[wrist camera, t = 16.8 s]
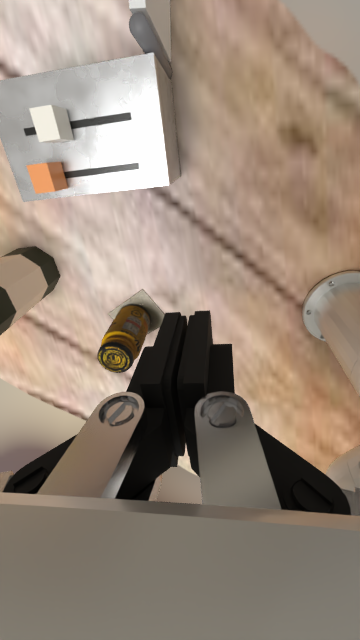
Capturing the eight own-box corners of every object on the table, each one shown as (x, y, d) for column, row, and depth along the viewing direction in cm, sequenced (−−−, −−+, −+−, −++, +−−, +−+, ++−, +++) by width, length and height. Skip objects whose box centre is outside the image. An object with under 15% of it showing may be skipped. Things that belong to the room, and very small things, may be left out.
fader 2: (60, 161, 28) (46, 162, 26) (68, 188, 29) (55, 191, 27) (42, 164, 28) (26, 165, 26) (50, 190, 30) (35, 193, 27)
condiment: (108, 313, 51) (81, 354, 41) (142, 288, 48) (123, 326, 38) (134, 341, 54) (116, 386, 44) (169, 319, 51) (158, 362, 40)
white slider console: (171, 82, 34) (153, 52, 23) (180, 176, 39) (168, 185, 28) (47, 103, 36) (-20, 83, 26) (70, 189, 41) (22, 201, 31)
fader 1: (66, 109, 26) (51, 104, 23) (74, 140, 27) (60, 139, 25) (45, 112, 26) (29, 108, 24) (54, 142, 27) (39, 142, 25)
